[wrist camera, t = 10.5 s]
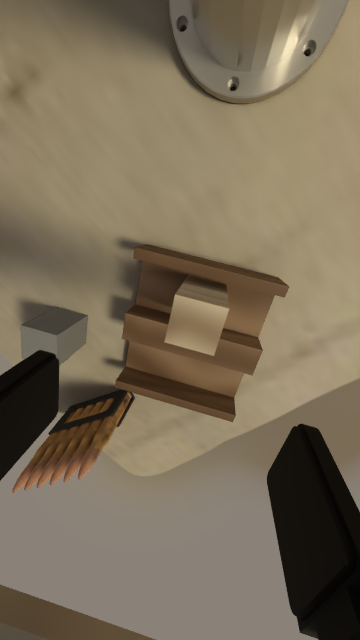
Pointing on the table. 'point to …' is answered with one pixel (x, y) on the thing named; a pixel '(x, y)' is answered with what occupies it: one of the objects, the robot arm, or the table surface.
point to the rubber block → (54, 333)
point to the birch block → (198, 315)
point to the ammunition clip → (76, 439)
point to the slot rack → (185, 364)
